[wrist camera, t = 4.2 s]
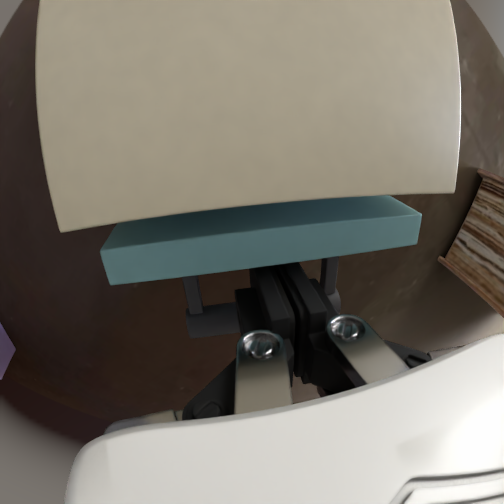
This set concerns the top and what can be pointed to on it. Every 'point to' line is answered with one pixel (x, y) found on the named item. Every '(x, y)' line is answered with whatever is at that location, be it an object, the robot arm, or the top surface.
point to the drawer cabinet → (242, 103)
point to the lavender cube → (5, 351)
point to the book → (482, 243)
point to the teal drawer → (253, 246)
